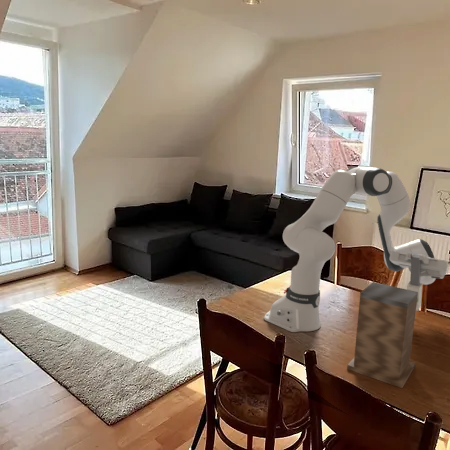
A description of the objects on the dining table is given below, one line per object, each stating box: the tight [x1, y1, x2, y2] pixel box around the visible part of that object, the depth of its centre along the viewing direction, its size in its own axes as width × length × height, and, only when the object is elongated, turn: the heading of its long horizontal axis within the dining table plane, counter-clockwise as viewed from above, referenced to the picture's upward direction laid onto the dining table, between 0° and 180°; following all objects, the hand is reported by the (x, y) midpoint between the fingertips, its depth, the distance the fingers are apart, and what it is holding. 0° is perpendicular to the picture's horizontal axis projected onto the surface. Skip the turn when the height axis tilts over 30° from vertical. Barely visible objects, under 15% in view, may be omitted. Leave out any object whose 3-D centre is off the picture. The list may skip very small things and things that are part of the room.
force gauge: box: [406, 254, 423, 312], centre depth 162 cm, size 4×22×4 cm
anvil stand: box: [346, 281, 418, 389], centre depth 136 cm, size 17×15×26 cm
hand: (415, 256), depth 156 cm, fingers closed on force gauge, 3 cm apart
